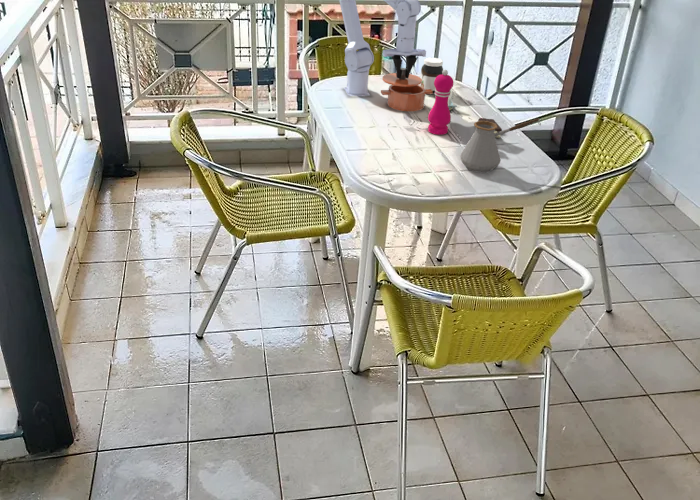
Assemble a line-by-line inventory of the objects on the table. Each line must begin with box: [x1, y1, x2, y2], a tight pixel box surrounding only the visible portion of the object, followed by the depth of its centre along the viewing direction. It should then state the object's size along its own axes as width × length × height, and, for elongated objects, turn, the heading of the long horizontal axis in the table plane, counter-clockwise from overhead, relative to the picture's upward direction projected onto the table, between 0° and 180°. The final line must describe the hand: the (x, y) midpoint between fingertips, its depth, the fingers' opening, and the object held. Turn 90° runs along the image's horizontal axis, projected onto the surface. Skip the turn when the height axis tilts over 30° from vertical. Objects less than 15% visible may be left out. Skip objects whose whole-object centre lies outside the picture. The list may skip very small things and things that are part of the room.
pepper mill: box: [427, 69, 454, 136], centre depth 213 cm, size 7×7×20 cm
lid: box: [381, 67, 422, 87], centre depth 231 cm, size 14×14×5 cm
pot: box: [380, 84, 433, 112], centre depth 235 cm, size 13×18×6 cm
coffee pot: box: [459, 118, 542, 174], centre depth 191 cm, size 21×12×15 cm, turn 95°
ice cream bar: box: [477, 117, 503, 139], centre depth 220 cm, size 5×2×15 cm
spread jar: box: [419, 57, 452, 95], centre depth 250 cm, size 12×11×12 cm
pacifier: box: [448, 90, 458, 111], centre depth 236 cm, size 7×6×6 cm
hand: (402, 77), depth 231 cm, fingers closed on lid, 2 cm apart
